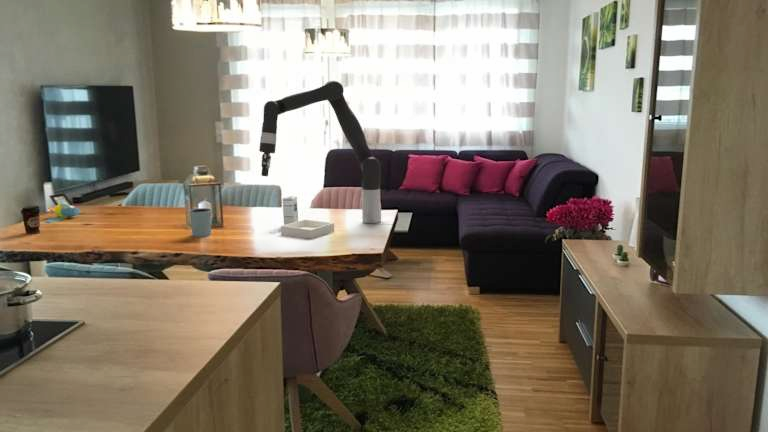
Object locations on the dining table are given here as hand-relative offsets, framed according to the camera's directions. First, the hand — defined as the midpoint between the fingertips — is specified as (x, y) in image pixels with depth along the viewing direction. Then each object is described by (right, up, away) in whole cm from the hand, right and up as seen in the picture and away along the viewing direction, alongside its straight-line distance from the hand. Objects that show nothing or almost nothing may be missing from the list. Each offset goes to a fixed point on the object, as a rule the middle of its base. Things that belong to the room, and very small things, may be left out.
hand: (264, 176), depth 313 cm
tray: (+21, -27, -4) cm, 35 cm away
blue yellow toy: (-117, -21, +40) cm, 125 cm away
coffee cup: (-114, -28, +3) cm, 117 cm away
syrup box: (+11, -24, +13) cm, 30 cm away
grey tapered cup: (-29, -28, -5) cm, 41 cm away
